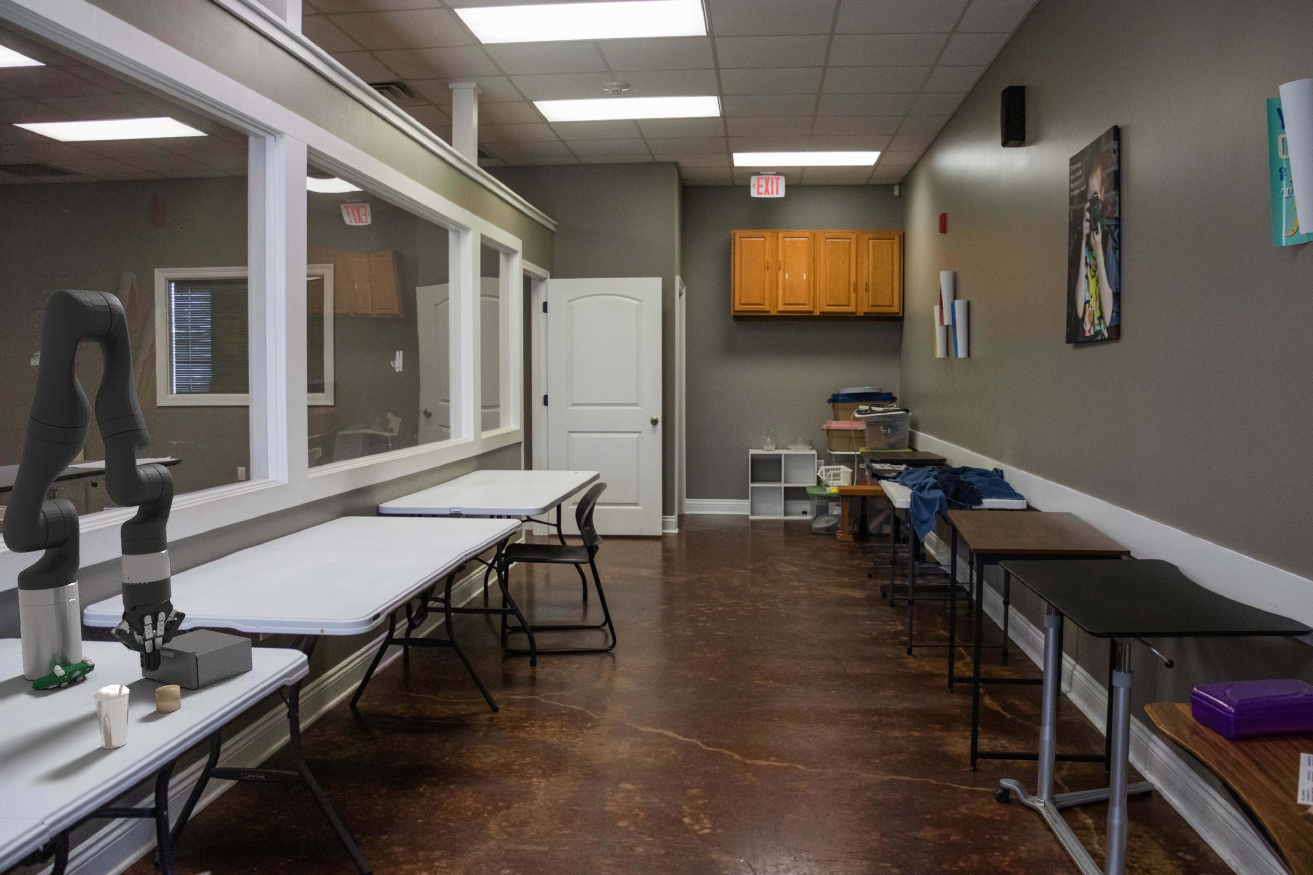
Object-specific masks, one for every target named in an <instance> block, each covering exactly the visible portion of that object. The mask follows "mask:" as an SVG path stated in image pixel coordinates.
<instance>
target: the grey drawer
mask: <svg viewBox="0 0 1313 875" xmlns="http://www.w3.org/2000/svg"><path fill="white" fill-rule="evenodd" d="M160 658H161V659H160V660H161V664H160V666H158V667H159V668H158V670H155V671H152V672H146V671H144V669H142V668H141V676H142V678H147V679H150V680H153V681H154V680H155V681H159V682H161V683H166V684H169V685H179V686H180V688H181V687H183V688H187V689H189V690H194V689H198V688H197V687H198V685H197V666H196V651H193V650H188V649H183V648H179V647H174V646H170V645H165V644H164V645H163V646H162V647H161V649H160Z"/></svg>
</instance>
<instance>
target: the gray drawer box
mask: <svg viewBox="0 0 1313 875" xmlns="http://www.w3.org/2000/svg"><path fill="white" fill-rule="evenodd" d="M165 645H170V646H174V647H179V648H183V649H188V650H193V651H196V666H197V685H198V687H197V688H196V689H201V688H205V687H208V686H210V685H213V684H215V683H218V682H221V681H223V680H226V679H227V680H228V679H229V678H233V677H235V676H238V675H241V674H244V673H246V672H247V673H248V672H249V671H252V670H253V650H252V639H251V638H249V637H245V636H238V635H235V634H234V635H233V634H229V633H223V632H220V631H218V632H217V631H213V630H208V629H204V628H203V629H202V628H201V629H197V630H195V631H190V632H187V633H184V634H181V635H177V636H174V637H173V638H172V640H171V642H170V643H166V644H165Z"/></svg>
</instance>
